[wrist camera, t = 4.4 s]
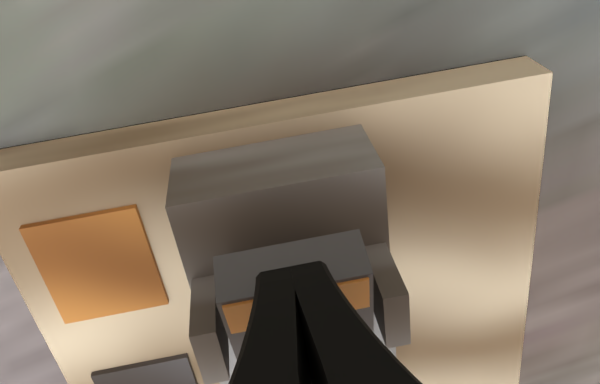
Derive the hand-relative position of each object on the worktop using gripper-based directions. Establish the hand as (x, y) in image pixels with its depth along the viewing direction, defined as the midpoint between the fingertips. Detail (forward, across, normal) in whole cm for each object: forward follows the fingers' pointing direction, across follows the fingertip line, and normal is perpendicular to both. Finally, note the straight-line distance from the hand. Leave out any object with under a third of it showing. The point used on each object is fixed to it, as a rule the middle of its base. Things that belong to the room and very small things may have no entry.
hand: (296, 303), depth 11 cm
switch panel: (+7, 0, +8) cm, 10 cm away
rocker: (+1, 0, +2) cm, 2 cm away
